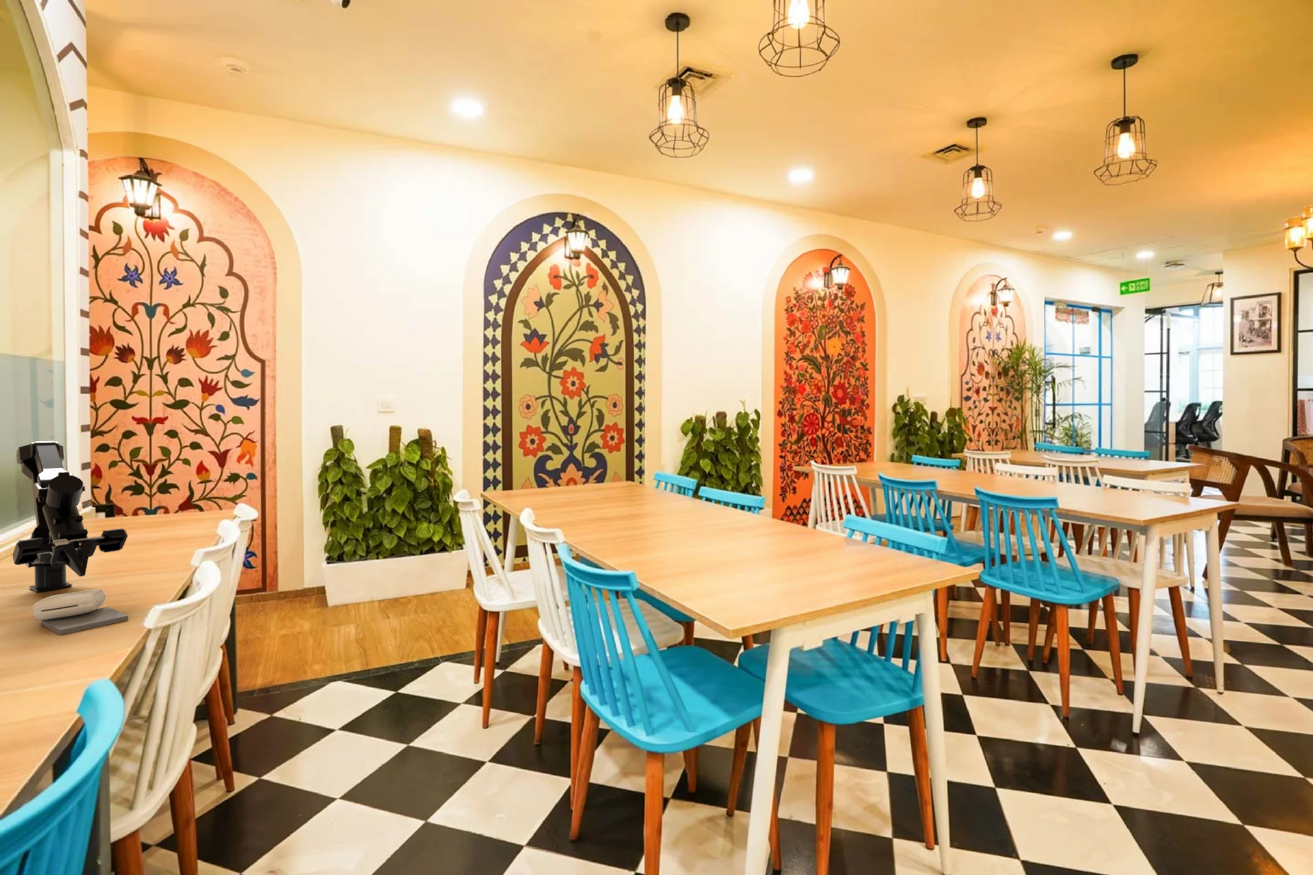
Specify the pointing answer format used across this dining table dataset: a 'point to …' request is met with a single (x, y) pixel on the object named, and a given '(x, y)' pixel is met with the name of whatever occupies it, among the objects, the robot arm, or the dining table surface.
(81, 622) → the board
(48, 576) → the robot arm
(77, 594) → the photo printer
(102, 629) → the dining table surface
